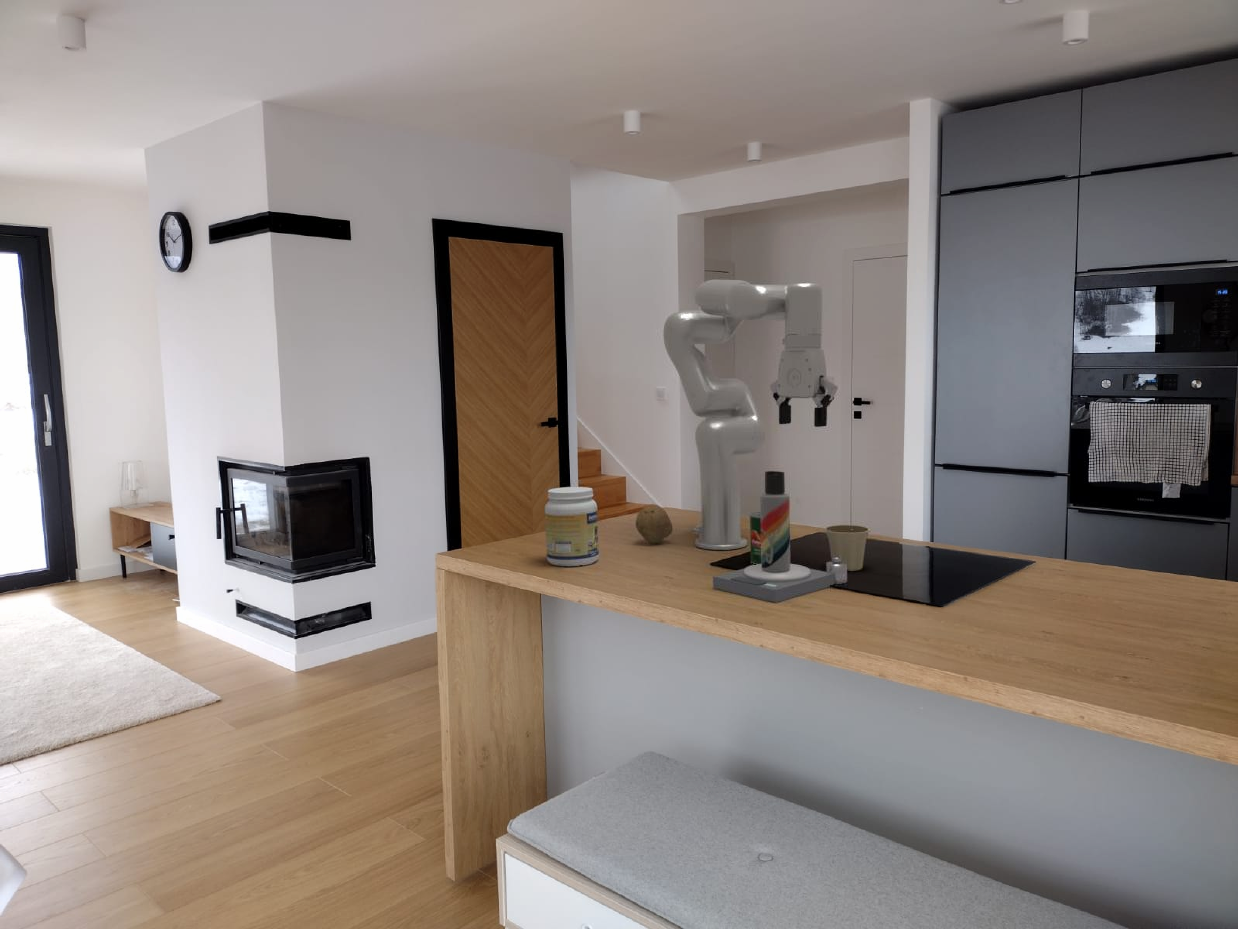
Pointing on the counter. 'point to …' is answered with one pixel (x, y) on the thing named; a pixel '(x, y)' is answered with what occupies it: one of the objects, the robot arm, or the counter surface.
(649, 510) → the brown rounded lump
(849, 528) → the flower pot
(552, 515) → the supplement tub
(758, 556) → the canned tomato
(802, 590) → the kitchen scale
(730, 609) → the counter surface
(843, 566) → the calibration weight
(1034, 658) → the counter surface
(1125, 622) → the counter surface
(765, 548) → the lotion bottle
